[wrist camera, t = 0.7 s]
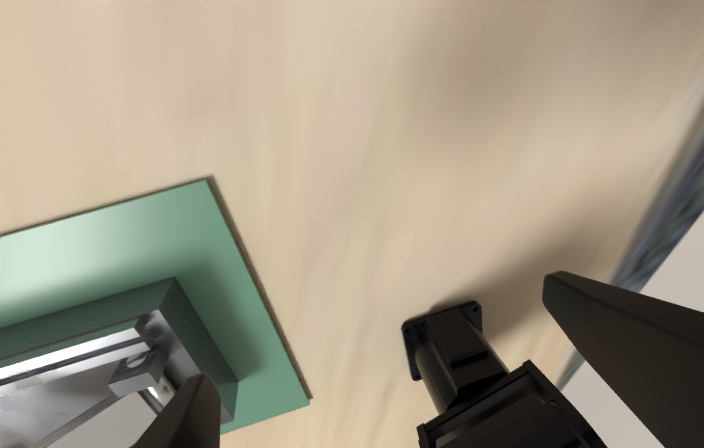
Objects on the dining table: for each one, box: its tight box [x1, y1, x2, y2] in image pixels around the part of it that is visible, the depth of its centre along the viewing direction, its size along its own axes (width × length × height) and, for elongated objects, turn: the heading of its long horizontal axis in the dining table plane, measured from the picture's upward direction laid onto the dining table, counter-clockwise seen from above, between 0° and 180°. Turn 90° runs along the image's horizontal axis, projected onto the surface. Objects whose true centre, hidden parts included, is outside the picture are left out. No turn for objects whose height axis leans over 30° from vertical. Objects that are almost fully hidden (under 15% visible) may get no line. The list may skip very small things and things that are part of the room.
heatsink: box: [0, 276, 239, 448], centre depth 19 cm, size 10×16×5 cm, turn 103°
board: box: [0, 179, 310, 435], centre depth 21 cm, size 20×24×1 cm
